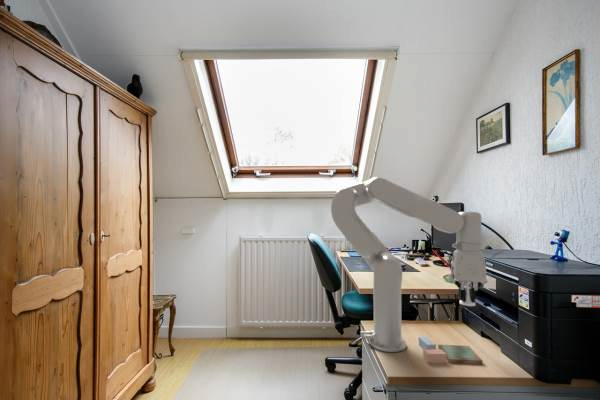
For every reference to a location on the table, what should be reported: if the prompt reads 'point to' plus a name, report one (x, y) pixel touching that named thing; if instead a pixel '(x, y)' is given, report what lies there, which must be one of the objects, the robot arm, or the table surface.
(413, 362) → the table surface
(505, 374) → the table surface
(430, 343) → the slate-blue brick
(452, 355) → the green-topped square tray
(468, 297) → the chess piece
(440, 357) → the terracotta brick
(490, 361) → the table surface
